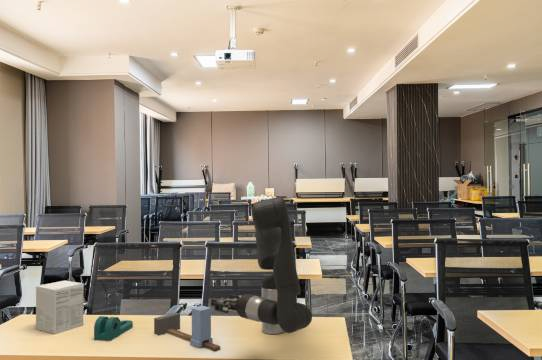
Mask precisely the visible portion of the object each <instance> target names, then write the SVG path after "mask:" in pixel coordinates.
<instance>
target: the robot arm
mask: <svg viewBox="0 0 542 360" xmlns="http://www.w3.org/2000/svg"><path fill="white" fill-rule="evenodd" d="M251 218H252V222H253V226H254V230H255V242H256V243H255V244H256V248H257V264H258V266H259V268H260V269H261V270H264V271H267V270H270V271H272V275H269V276H266V277H264V278H262V280H261V284H260V285H261V296H258V295H253V294H250V293H249V294H248V293H245V294H243V295H241V294H240V295H237V294H229V298H226V299H224V300H221V299H220V300H218V299H215V298H211V299H210V306H211V307H214V308H213V309H214V311H216V312H221V313H225V314H227V313H228V314H229V312H237V314H238V315H239V317H240V318H243V319H246V320H250V321H252V322H253V321H255V322H258V323H259V322H260V323H261V331H262V332H263V333H264V334H268V335H279V334H282V333H284V332H285V333H286V334H292V333H295V332H298V331H300V330H302V329H305V328H307V327H309V325H310V324H311V323H312V320H313V313H312V310H311V309H310V308H309V307H308V306H307V305H305V304H303V303H300V302H295V301H296V297H297V296H298V295H299V294H301V286H300V280H299V276H298V272H297V269H296V268H297V267H296V263H295V256H294V255H295V254H294V253H295V252H294V244H293V243H294V242H293V236H292V227H291V221H290V214H289V210H288V206H287V204H286V201H285V199H284V198H283V197H280V196H278V197H272V198H268V199H262V200H258V201H256V202H254V203H253V204H252V207H251Z"/></svg>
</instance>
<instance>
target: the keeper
mask: <svg viewBox="0 0 542 360" xmlns="http://www.w3.org/2000/svg"><path fill="white" fill-rule="evenodd" d="M191 335H192V339H190V342H189V345H190V346H192V347H195V348H197V349H200V348H203V347H202V342H203V341H208V342H211V343H213V337H212V309H211V307H209V306H205V305H199V306H195V307H191ZM213 344H214V343H213Z"/></svg>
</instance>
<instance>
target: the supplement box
mask: <svg viewBox="0 0 542 360" xmlns="http://www.w3.org/2000/svg"><path fill="white" fill-rule="evenodd" d="M84 287H85V285H84V282H83V283H82V282H76V281H70V280H65V279H64V280H60V281H56V282H51V283H45V284H40V285H36V286H35V330H40V331H42V332H46V333H50V334H52V335H54V334H55V335H56V334H58V333H62V332H66V331H69V330H72V329H75V328H78V327H81V326H84Z"/></svg>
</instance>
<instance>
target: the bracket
mask: <svg viewBox="0 0 542 360" xmlns="http://www.w3.org/2000/svg"><path fill="white" fill-rule="evenodd" d="M133 326H134V323H133V320H131V319H130V320H128V319H127V320H125V319H123V320H121V318H119V317H116V316H110V317H108V316H102V315H100V316H98V317H97V318H96V320H95V321H94V326H93V340H94V341H105V342H111V341H113V340H115V339H116V338H118V337H120V336H121V335H123V334H125V333H126V332H128V331H130V330H131V329H133Z"/></svg>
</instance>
